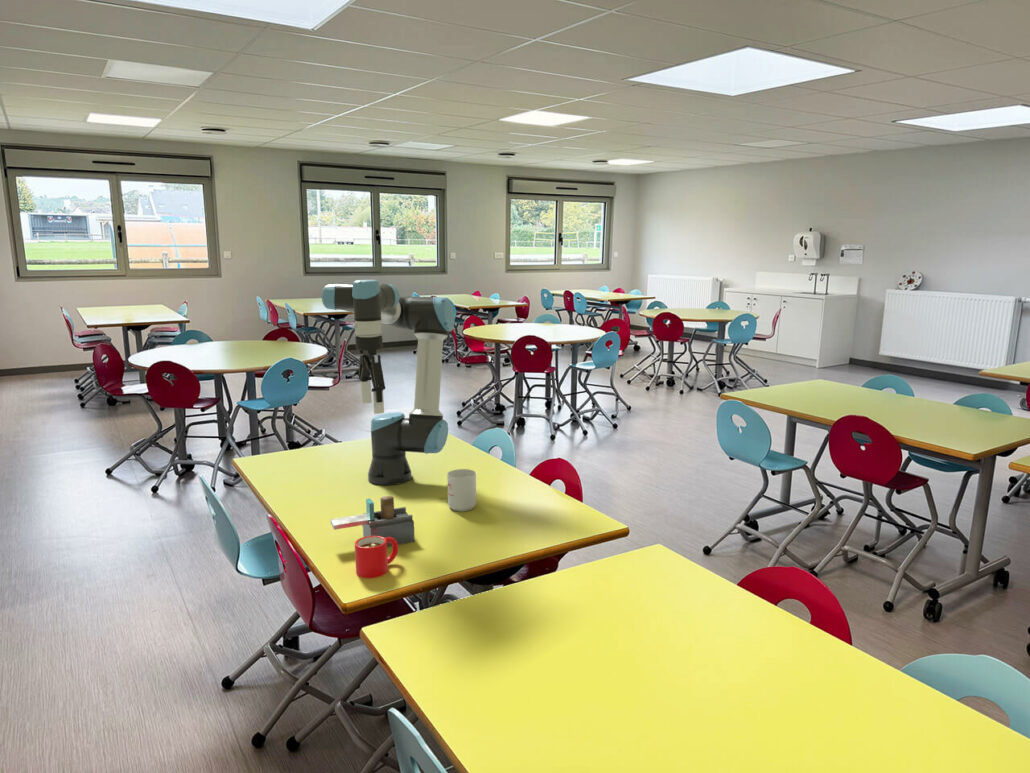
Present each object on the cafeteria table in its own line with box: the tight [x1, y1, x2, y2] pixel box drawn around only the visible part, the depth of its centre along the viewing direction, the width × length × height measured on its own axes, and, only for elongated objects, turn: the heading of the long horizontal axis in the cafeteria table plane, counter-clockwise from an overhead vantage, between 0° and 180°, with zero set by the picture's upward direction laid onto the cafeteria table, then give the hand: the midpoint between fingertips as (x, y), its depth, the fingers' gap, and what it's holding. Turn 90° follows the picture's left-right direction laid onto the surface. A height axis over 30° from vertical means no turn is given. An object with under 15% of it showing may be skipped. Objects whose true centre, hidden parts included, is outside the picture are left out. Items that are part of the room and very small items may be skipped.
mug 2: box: [446, 468, 477, 512], centre depth 220 cm, size 12×9×11 cm
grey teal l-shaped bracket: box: [330, 498, 375, 531], centre depth 190 cm, size 5×11×6 cm, turn 115°
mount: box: [362, 506, 415, 548], centre depth 195 cm, size 10×12×7 cm
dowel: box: [380, 495, 395, 520], centre depth 195 cm, size 4×4×12 cm
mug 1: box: [354, 536, 399, 579], centre depth 177 cm, size 8×12×8 cm, turn 138°
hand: (372, 408), depth 202 cm, fingers open, 13 cm apart
